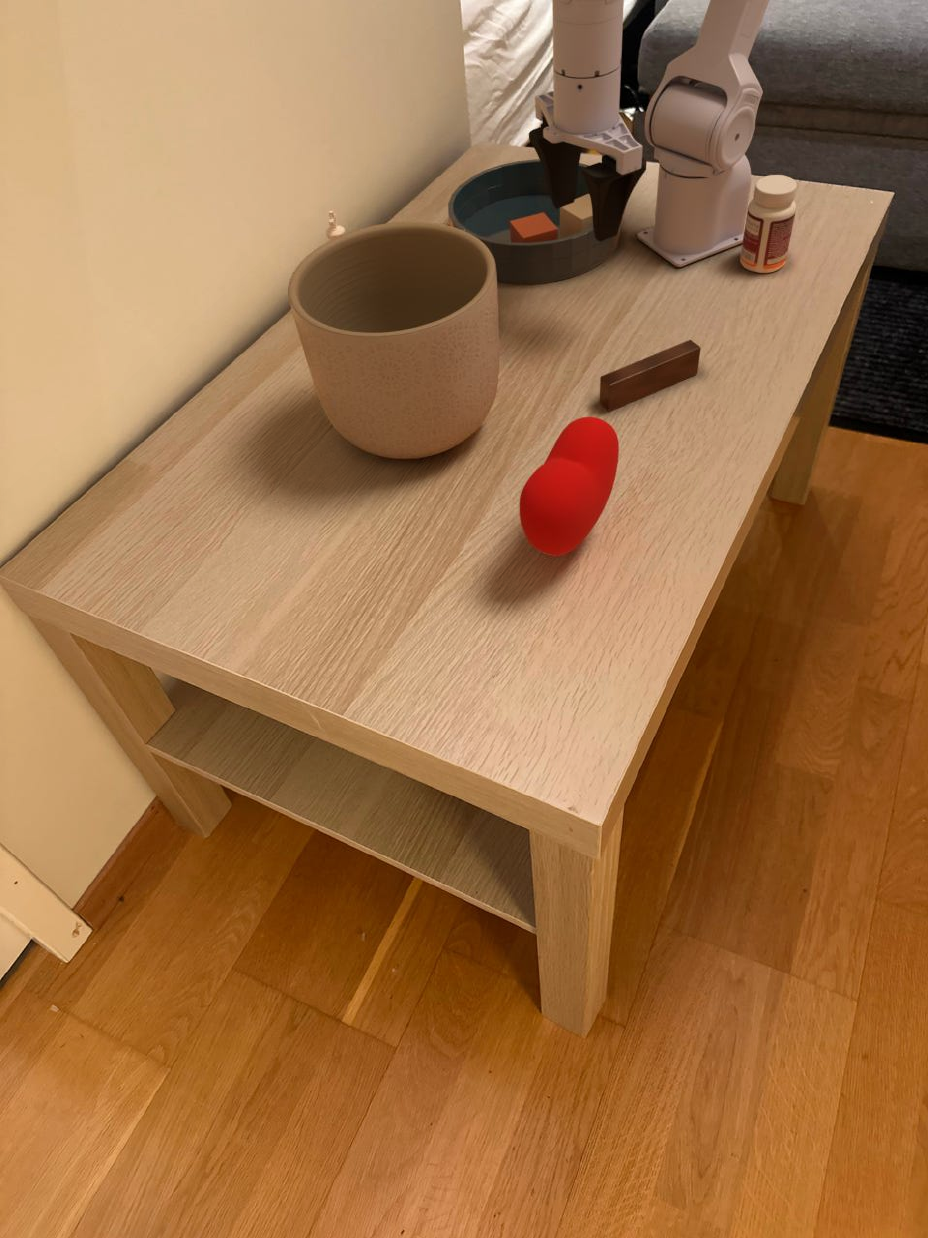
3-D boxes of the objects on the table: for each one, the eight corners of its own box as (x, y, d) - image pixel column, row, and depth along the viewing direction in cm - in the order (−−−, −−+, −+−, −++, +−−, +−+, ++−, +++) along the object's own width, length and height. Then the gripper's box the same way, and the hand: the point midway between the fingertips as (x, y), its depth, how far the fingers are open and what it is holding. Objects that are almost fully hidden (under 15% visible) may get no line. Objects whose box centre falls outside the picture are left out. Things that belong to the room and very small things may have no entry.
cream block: (587, 227, 102) (588, 193, 99) (609, 241, 100) (611, 206, 97) (559, 240, 101) (559, 205, 98) (581, 254, 99) (581, 219, 96)
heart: (570, 488, 77) (570, 393, 69) (629, 506, 75) (636, 411, 67) (507, 582, 71) (500, 489, 63) (569, 604, 69) (569, 512, 61)
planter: (476, 497, 77) (460, 346, 65) (297, 470, 81) (252, 324, 70) (525, 377, 87) (519, 227, 75) (364, 359, 91) (334, 214, 79)
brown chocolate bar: (687, 365, 86) (690, 338, 84) (697, 374, 85) (701, 347, 83) (599, 402, 84) (600, 376, 81) (608, 412, 83) (609, 385, 80)
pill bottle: (787, 252, 97) (803, 173, 90) (782, 276, 94) (798, 197, 87) (742, 248, 98) (755, 170, 91) (736, 271, 95) (748, 193, 89)
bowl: (562, 180, 111) (562, 143, 107) (653, 246, 100) (656, 207, 96) (424, 229, 106) (419, 192, 103) (503, 304, 95) (500, 264, 92)
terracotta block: (544, 246, 101) (543, 211, 97) (558, 263, 98) (558, 228, 95) (511, 255, 100) (509, 220, 97) (524, 272, 98) (523, 237, 94)
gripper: (503, 51, 79) (511, 202, 90) (593, 106, 71) (590, 266, 81) (572, 30, 81) (571, 181, 91) (668, 81, 72) (655, 241, 83)
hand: (584, 220), depth 86 cm, fingers open, 7 cm apart
